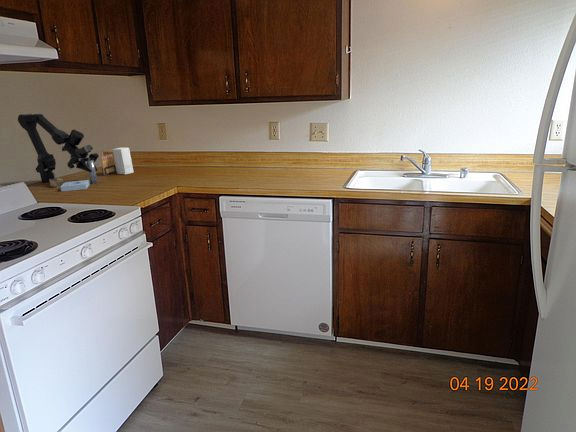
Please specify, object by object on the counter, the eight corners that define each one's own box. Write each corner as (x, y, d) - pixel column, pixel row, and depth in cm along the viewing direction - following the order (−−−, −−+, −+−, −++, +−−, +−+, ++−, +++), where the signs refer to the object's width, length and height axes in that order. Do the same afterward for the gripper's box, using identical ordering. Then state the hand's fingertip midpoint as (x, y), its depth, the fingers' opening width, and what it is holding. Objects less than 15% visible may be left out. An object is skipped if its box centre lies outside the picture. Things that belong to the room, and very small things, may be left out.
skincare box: (134, 172, 259) (130, 147, 255) (125, 174, 254) (120, 149, 249) (125, 172, 264) (121, 147, 259) (116, 174, 258) (111, 148, 254)
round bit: (90, 183, 232) (86, 161, 229) (91, 182, 236) (87, 160, 232) (97, 183, 233) (93, 160, 230) (98, 181, 237) (94, 159, 233)
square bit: (64, 186, 230) (63, 179, 229) (57, 188, 227) (55, 180, 226) (58, 184, 236) (56, 177, 234) (50, 186, 233) (49, 179, 232)
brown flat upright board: (105, 175, 254) (102, 156, 250) (102, 175, 254) (99, 156, 251) (116, 172, 264) (113, 153, 260) (114, 172, 264) (111, 153, 261)
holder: (61, 191, 217) (60, 186, 216) (65, 186, 228) (64, 182, 227) (86, 188, 220) (85, 184, 220) (89, 184, 231) (88, 179, 231)
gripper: (67, 143, 220) (88, 164, 220) (93, 138, 237) (112, 158, 237) (58, 157, 225) (78, 178, 225) (84, 152, 242) (103, 171, 242)
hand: (94, 171), depth 232 cm, fingers closed on round bit, 4 cm apart
